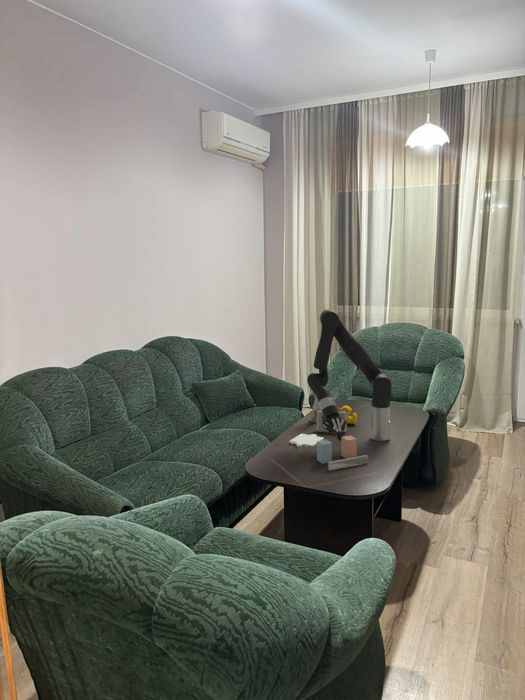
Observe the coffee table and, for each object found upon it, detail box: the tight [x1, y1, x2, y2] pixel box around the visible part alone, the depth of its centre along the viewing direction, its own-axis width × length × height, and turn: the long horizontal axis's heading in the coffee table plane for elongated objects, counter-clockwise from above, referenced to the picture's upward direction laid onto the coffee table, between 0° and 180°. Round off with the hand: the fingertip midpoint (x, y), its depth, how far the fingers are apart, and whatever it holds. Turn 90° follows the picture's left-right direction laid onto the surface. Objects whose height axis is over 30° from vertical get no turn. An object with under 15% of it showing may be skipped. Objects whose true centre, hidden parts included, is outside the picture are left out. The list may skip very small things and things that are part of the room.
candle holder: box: [309, 394, 321, 424], centre depth 304 cm, size 9×9×20 cm
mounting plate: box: [288, 433, 325, 448], centre depth 272 cm, size 18×13×2 cm
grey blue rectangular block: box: [316, 439, 333, 465], centre depth 244 cm, size 5×5×9 cm
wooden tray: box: [327, 454, 369, 472], centre depth 244 cm, size 14×20×4 cm
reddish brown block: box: [340, 435, 358, 459], centre depth 249 cm, size 5×5×9 cm
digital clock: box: [316, 411, 348, 433], centre depth 288 cm, size 16×9×11 cm, turn 71°
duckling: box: [337, 405, 358, 425], centre depth 300 cm, size 11×5×10 cm, turn 61°
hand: (341, 440), depth 254 cm, fingers closed
